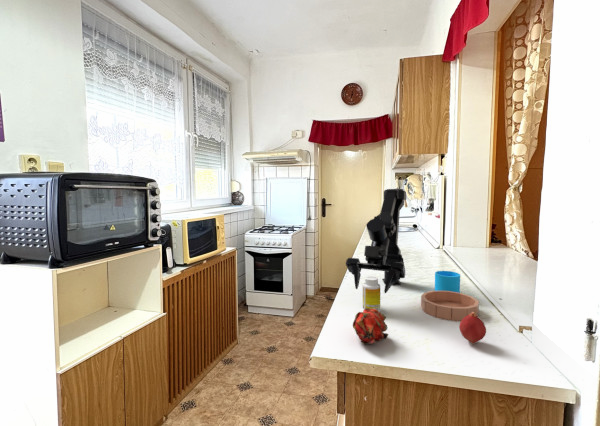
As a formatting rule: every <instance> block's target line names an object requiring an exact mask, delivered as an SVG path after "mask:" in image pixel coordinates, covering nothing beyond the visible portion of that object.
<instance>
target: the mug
mask: <svg viewBox="0 0 600 426" xmlns="http://www.w3.org/2000/svg"><path fill="white" fill-rule="evenodd" d="M434 291H452V292H458V293H461V273H458V272H456V271H451V270H437V271H434Z"/></svg>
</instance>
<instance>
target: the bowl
mask: <svg viewBox="0 0 600 426" xmlns="http://www.w3.org/2000/svg"><path fill="white" fill-rule="evenodd" d="M420 308H421V309H422V311H423V312H424V313H425V314H427V315H429V316H431V317H433V318H436V319H439V320H443V321H447V322H448V321H449V322H461V321H462V319H463V318H464V317H466V316H467V315H470V314H471V313H472V312H474V313H475V315H476V316H477V317H478V318H479V313H480V301H479V300H478V299H477V298H475V297H473V296H471V295H468V294H465V293H462V292H460V293H458V292H452V291H435V290H430V291H425V292H423V294H421V296H420Z"/></svg>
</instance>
